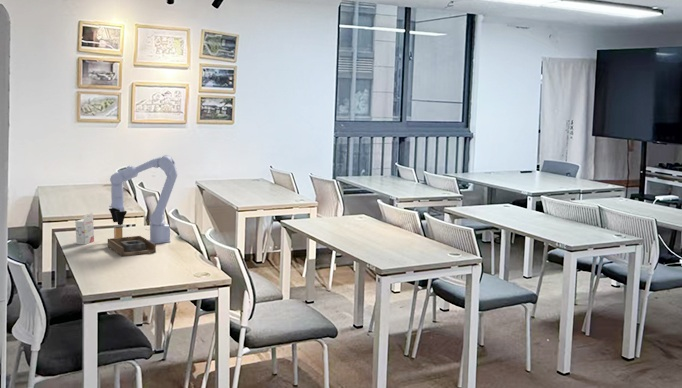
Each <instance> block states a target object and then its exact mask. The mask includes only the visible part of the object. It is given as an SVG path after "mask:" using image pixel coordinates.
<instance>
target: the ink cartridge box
mask: <svg viewBox="0 0 682 388" xmlns="http://www.w3.org/2000/svg"><path fill="white" fill-rule="evenodd" d="M82 217H83V218H81V219H78V220H75V241H76V243H75V244H76V245H84V246H85V245H88V244H91V243H93V242H94V241H95V229H94V225H95V224H94V213H93V212H91V213H87V214H85V215H83V216H82Z"/></svg>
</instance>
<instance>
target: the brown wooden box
mask: <svg viewBox="0 0 682 388" xmlns="http://www.w3.org/2000/svg"><path fill="white" fill-rule="evenodd" d="M149 240H150V239H147V238H145V237H143V236H141V235H136V236H135V235H134V236H133V235H132V236H125V237H122V238H114V237H113V238H107V247H108V248H109V249H110V248H111V249H110V250H111V251H113V252H114V253H116V254H117V255H120V256H121V257H130V256H139V255H145V254H146V255H147V254H156V253H157V249H156V247H157V245H156V244H157V243H152V242H150V241H149Z"/></svg>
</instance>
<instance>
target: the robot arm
mask: <svg viewBox="0 0 682 388" xmlns="http://www.w3.org/2000/svg"><path fill="white" fill-rule="evenodd" d="M151 168H155V169H158V168H160V169H161V170H162V171H163V172H164V174H165V176H166V179H165V181H164V183H163V187H162V189H161V192H160V196H159V198H158V200H157V203H156V206H155V208H154V210H153V212H152V214H150V216H149V222H150V223H149V239H148V240H149V241H150V242H152V243H154V244H161V243H171V227H170V225H169V223H165V222H164V219H165V216H166V215H165V211H166V207H167V205H168V202H169V199H170V197H171V194H172V192H173V189H174V186H175V183H176V180H177V178H178V171H177V168H176V163H175V161H174V159H173V157H172V156H170V155H167V154H165V155H162V156H159V157H155V158H152V159H150V160H149V161H145V162H144V163H142V164H139V165H137V166H134V165H131V166H130V165H128V166H127V167H126V168H124V169H122V170H121V169H120V170H118V171H117V172H115V173H113V174H112V175H111V176H110V178H109V181H110V184H111V186H110V187H111V188H110V189H111V190H110V193H111V194H110V195H111V196H110V197H111V202H110V203H111V204H110V205H109V206H108V207H109V208H108V210H109V212H110V214H111V218H112V223H117V226H118V225H121V226H123V225H124V222H125V218H126V214H127V211H128V210H125V204H124V202H125V201H124V187H123V186H124V182H127V181H130V180H132V179H134V178H137V177H138V175H139V173H141V172H143V171H146V170H147V171H148V170H149V169H151Z"/></svg>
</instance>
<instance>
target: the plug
mask: <svg viewBox="0 0 682 388" xmlns="http://www.w3.org/2000/svg"><path fill="white" fill-rule="evenodd" d="M123 227H124V226H123V225H118V224H117V225H113V238H122V237H123Z"/></svg>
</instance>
